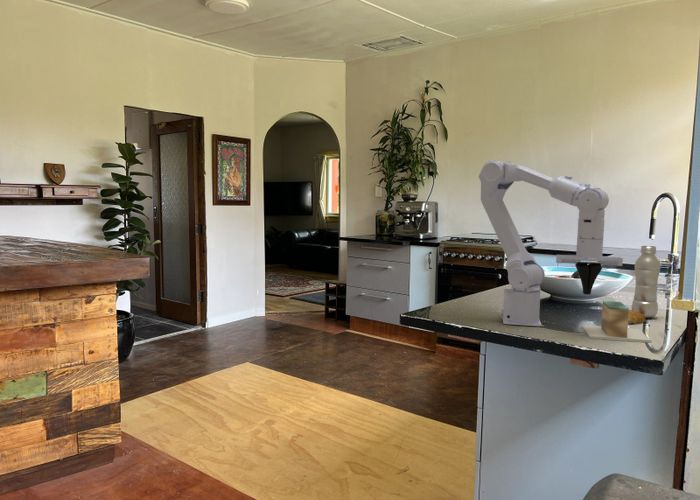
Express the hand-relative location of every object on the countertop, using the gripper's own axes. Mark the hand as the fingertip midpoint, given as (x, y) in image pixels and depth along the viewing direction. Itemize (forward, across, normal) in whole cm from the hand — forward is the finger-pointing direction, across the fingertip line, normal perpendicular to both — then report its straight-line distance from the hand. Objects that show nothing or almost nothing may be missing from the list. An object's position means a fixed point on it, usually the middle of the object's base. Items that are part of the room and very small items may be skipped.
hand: (586, 293), depth 126 cm
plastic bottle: (+10, +20, +24) cm, 32 cm away
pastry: (+10, +13, +17) cm, 24 cm away
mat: (+10, +7, 0) cm, 12 cm away
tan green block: (+9, +6, 0) cm, 11 cm away
